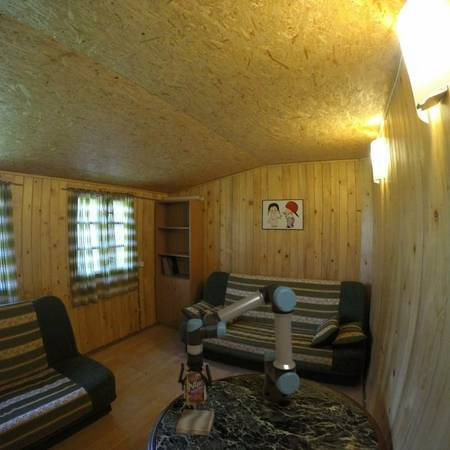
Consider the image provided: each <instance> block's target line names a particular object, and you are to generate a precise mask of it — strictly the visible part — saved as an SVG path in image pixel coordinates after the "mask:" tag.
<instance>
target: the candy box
mask: <svg viewBox="0 0 450 450" xmlns="http://www.w3.org/2000/svg"><path fill="white" fill-rule="evenodd" d="M202 369H203V370H202V373H203V375H204V376H205V375H206V373H205V372H206V371H205V368H204V367H202ZM188 370H189V369H186V370H185V372H186V373H185V376H186V381H185V382H186V398H185V401H186V406H189V405H191V404H196V405H197V404H202V403H204V404H205V403H206V402H205V401H206V400H204V385H205V383H204V381H203V379H202V377H201V375H200V374H199V372H196V371H190V372H188ZM191 406H192V405H191Z"/></svg>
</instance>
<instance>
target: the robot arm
mask: <svg viewBox="0 0 450 450" xmlns="http://www.w3.org/2000/svg"><path fill="white" fill-rule="evenodd" d="M297 302H298V301H297V296H296V294H295V291H293V290H292V289H291V288H290V287H287V286H284V285H282V284H280V283H277V282H274V283H270V284H269V283H268V284H267V285H264V286H262V287H261V288H258V289H257V290H256V291H255V292H254V293H252V294H250V295H249V296H246V297H244V298H242V299H240V300H238V301H235V302H234V303H231V304H230V305H228V306H225V307H224V308H222V309H219V310H217V311H216V312H213V313H211V312H208V313H205V314H204V317H203V319H200V318H191V319H189V320H188V321H187V325H186V338H187V340H186V341H187V342H186V343H187V347H186V348H187V350H186V351H187V354H186V355H187V357H186V359H187V360H186V361H185V360H183V361H182V362H181V364H180V367H181V368H180V372H179V377H178V380H177V381H178V382H177V383H178V384H181V391H183V400H184V399H185V400H186V375H184V372H185V368H186V366H187V368H188V369H187V370H188V372H190V371H196V372H199V374H200V375H201V377H202V379H203V381H204V383H205V385H204V400H205V401H206V400H207V397H208V393H209V389H210V388H209V387H210V386H212V384H213V378H212V374H211V370H210V362H204V361H203V357H204V355H203V353H204V352H203V340H208V339H209V340H210V339H220V338H225V337H226V336H227V325H226V323H228V322H230V321H233V320H234V319H236V318H238V317H241V316H242V315H245V314H247V313H248V312H251V311H252V310H255V309H257V308H259V307H261V306H264V307H265V306H267V305H270V306H271V307H270V310H271V311H270V312H271V314H273V315H274V318H273V320H274V340H275V341H274V345H275V352H273V351H272V352H267V353H266V354H265V355H264V383H263V385H262V389H261V393H262V394H261V395H262V397H263V399H265V401H269V402H271V403H274V404H275V403H277V404H281V403H284V402H286V401H288V399H289V398H290V394H291V395H292V394H293V393H295V392H296V391H297V390H298V389H299V387H300V384H301V382H300V377H299V375H298V374H297V369H296V368H297V367H296V363H295V361H294V360H293V344H292V343H293V342H292V341H293V340H292V315H293V314H294V309H295V307H296V305H297ZM202 368H204V369H205V372H206V373H205V376H204V375H203V373H202V370H203V369H202ZM183 377H184V378H183Z"/></svg>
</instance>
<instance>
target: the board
mask: <svg viewBox="0 0 450 450" xmlns="http://www.w3.org/2000/svg"><path fill="white" fill-rule="evenodd" d="M214 419H215V411H214V410H212V411H211V410H200V409H196V410H194V409H186V408H184V409H183V410H182V414H181V415H180V418H179V420H178V423H177V425H176V427H175V433H176V434H187V435H202V436H210V434H211V430H212V427H213V422H214Z"/></svg>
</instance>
